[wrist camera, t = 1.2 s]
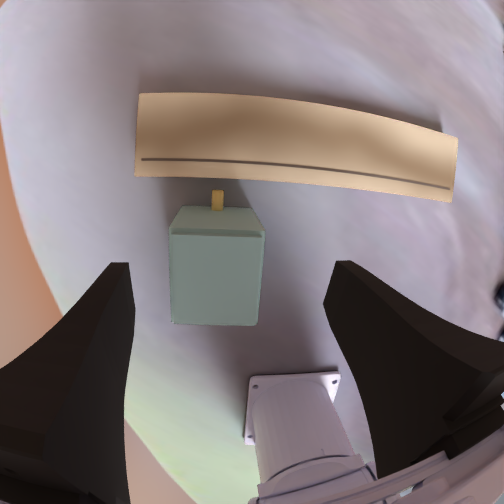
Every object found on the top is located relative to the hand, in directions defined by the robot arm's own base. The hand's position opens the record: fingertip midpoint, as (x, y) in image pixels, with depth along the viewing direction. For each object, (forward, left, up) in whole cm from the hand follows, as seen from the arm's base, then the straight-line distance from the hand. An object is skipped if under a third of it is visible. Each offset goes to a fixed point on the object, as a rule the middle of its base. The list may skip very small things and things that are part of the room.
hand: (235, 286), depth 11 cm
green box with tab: (-2, +1, -10) cm, 11 cm away
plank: (+5, -5, -10) cm, 13 cm away
